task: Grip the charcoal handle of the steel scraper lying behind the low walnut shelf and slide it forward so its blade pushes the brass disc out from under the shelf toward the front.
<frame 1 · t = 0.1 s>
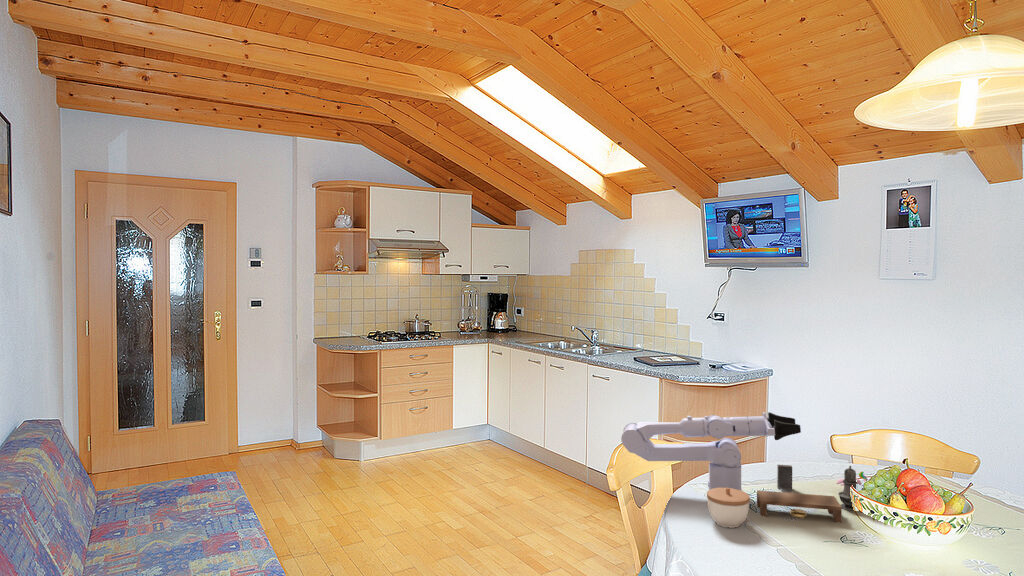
hand: (797, 425, 180), 22 cm above the table, tool horizontal, fingers open, 7 cm apart
brass token: (798, 516, 169), on the table
low shelf: (797, 513, 170), on the table
lidded jar: (728, 523, 164), on the table
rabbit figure: (857, 491, 188), on the table
scraper tool: (784, 488, 190), on the table
salt shaker: (849, 508, 174), on the table
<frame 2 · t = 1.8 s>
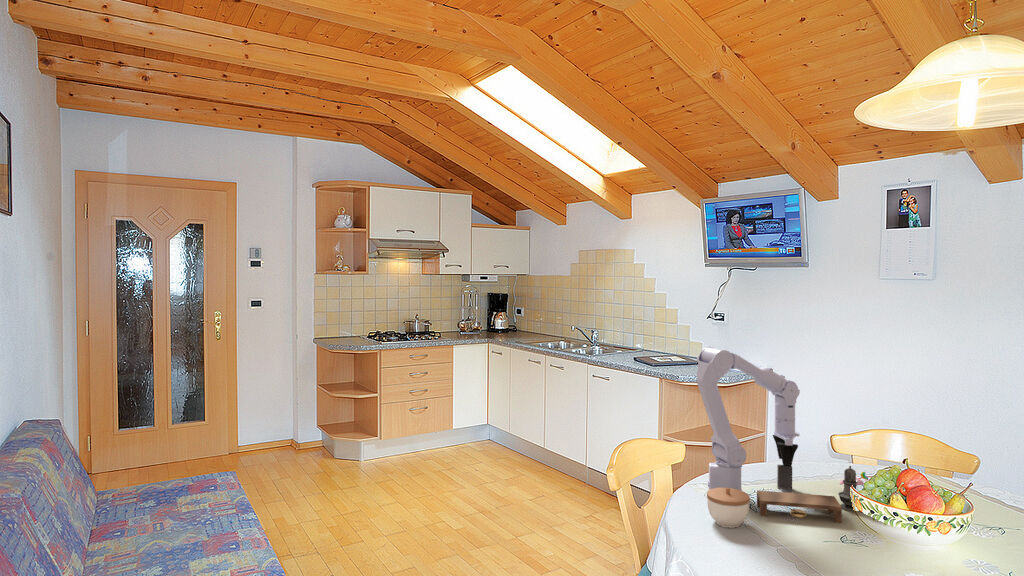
hand: (784, 462, 189), 8 cm above the table, tool pointing down, fingers open, 7 cm apart
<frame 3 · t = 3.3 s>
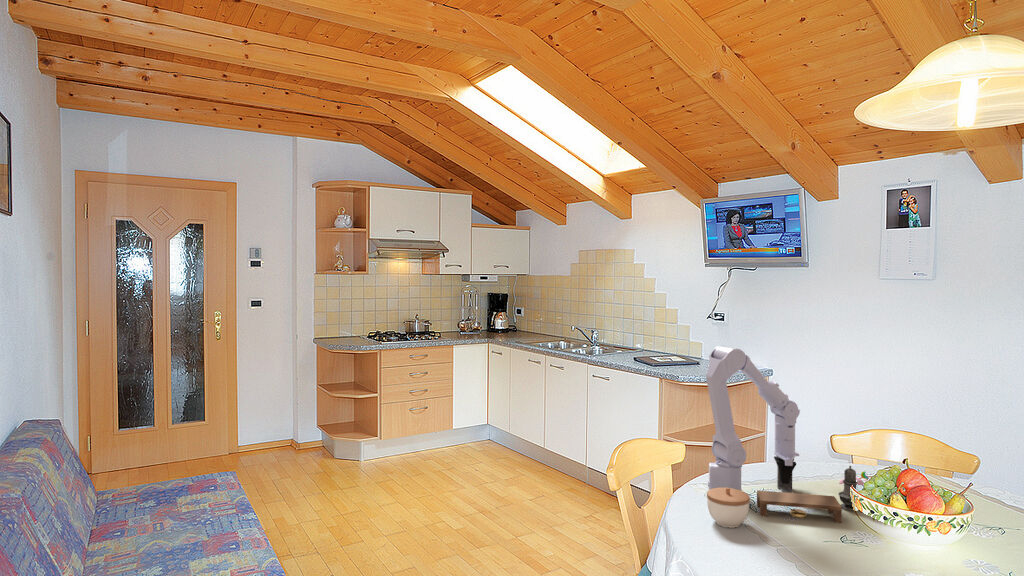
hand: (784, 482, 189), 2 cm above the table, tool pointing down, fingers closed on scraper tool
scraper tool: (784, 488, 190), on the table, touching gripper
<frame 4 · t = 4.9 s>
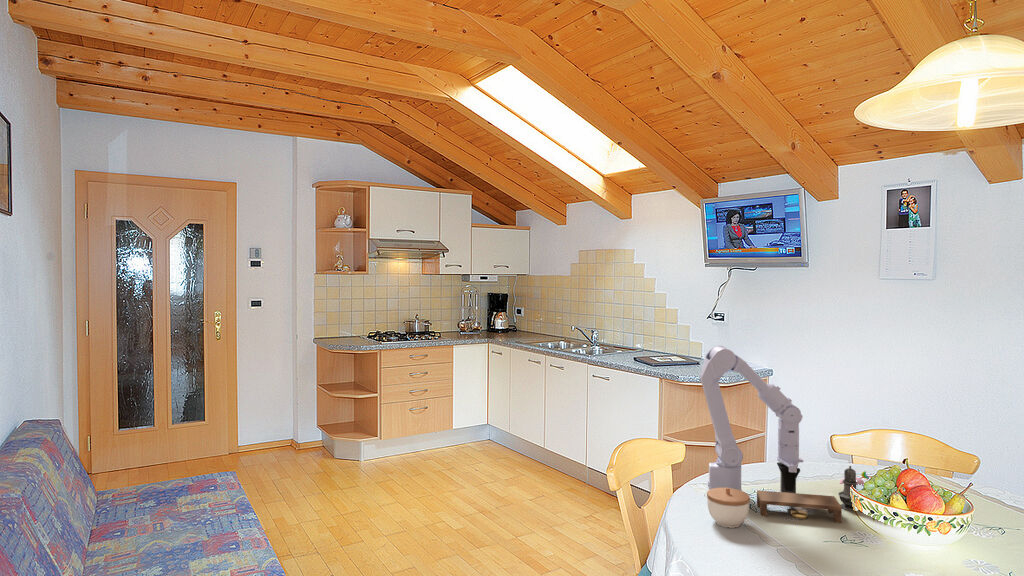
hand: (788, 489, 184), 2 cm above the table, tool pointing down, fingers closed on scraper tool
scraper tool: (788, 495, 184), on the table, touching gripper
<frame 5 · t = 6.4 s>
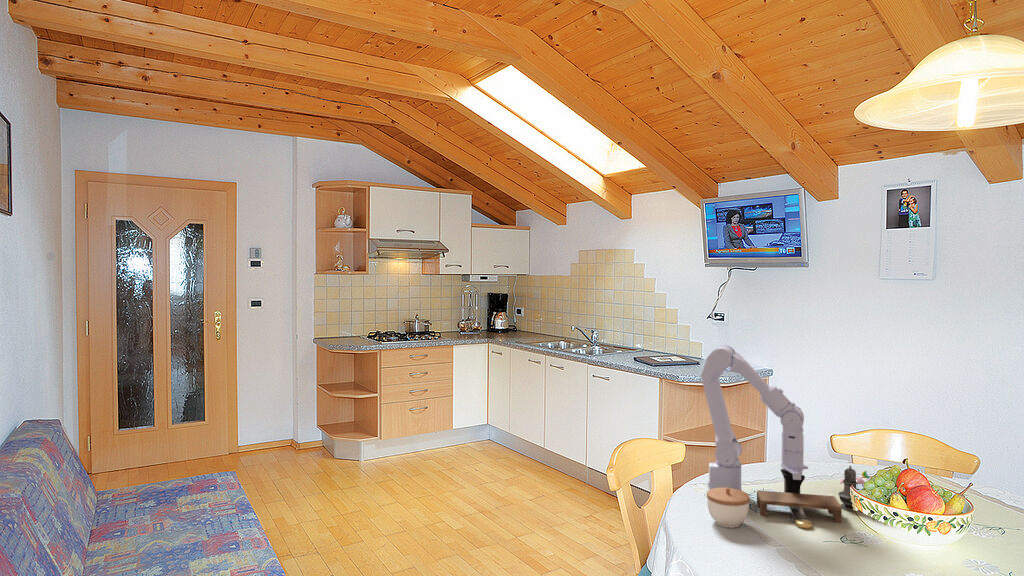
hand: (792, 496, 177), 2 cm above the table, tool pointing down, fingers closed on scraper tool
brass token: (803, 526, 162), on the table, touching scraper tool
scraper tool: (792, 503, 177), on the table, touching brass token, gripper
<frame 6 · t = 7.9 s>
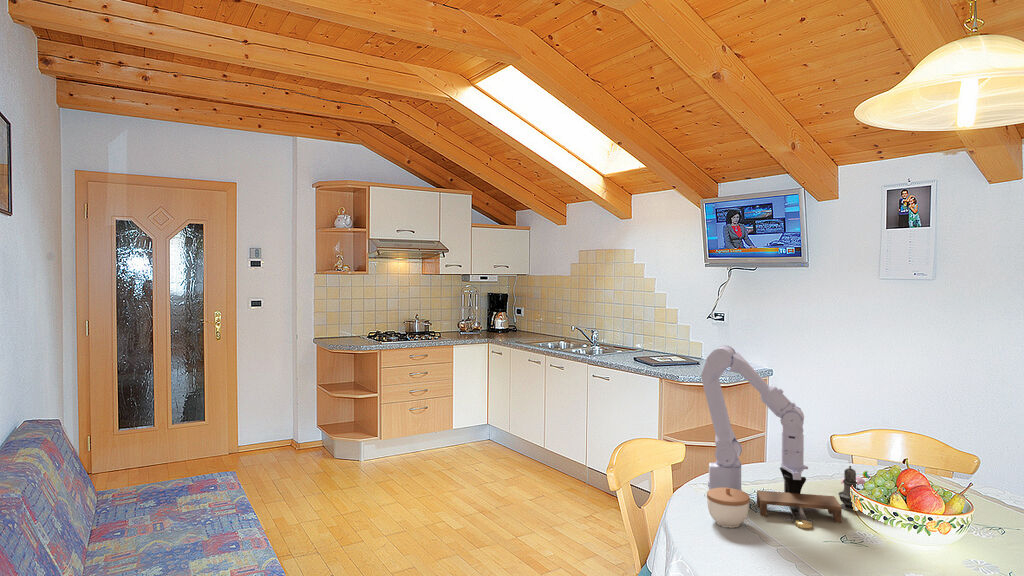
hand: (792, 496, 177), 2 cm above the table, tool pointing down, fingers open, 5 cm apart
brass token: (803, 527, 162), on the table
scraper tool: (792, 503, 177), on the table
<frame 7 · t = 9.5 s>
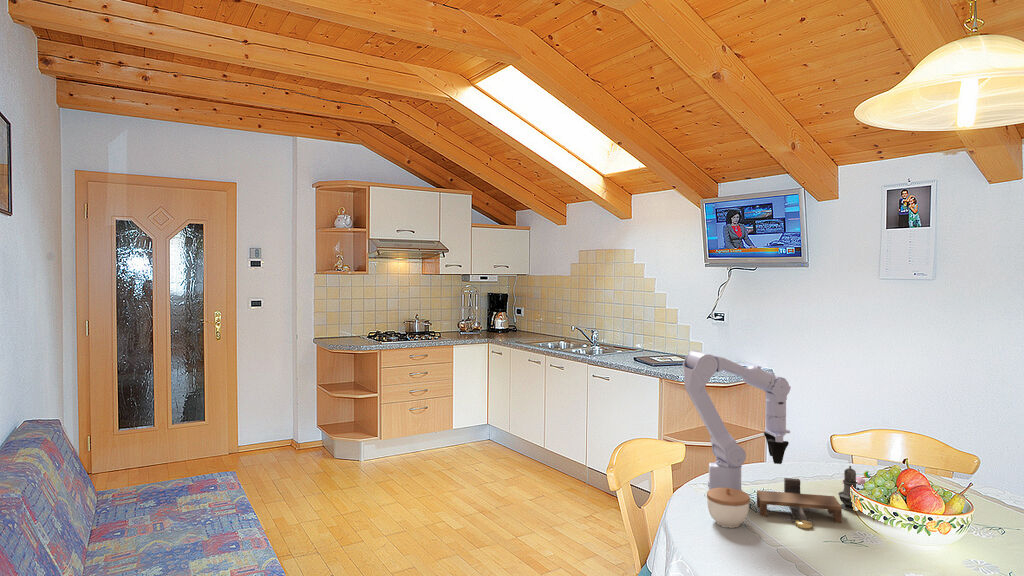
hand: (775, 459, 188), 9 cm above the table, tool pointing down, fingers open, 7 cm apart
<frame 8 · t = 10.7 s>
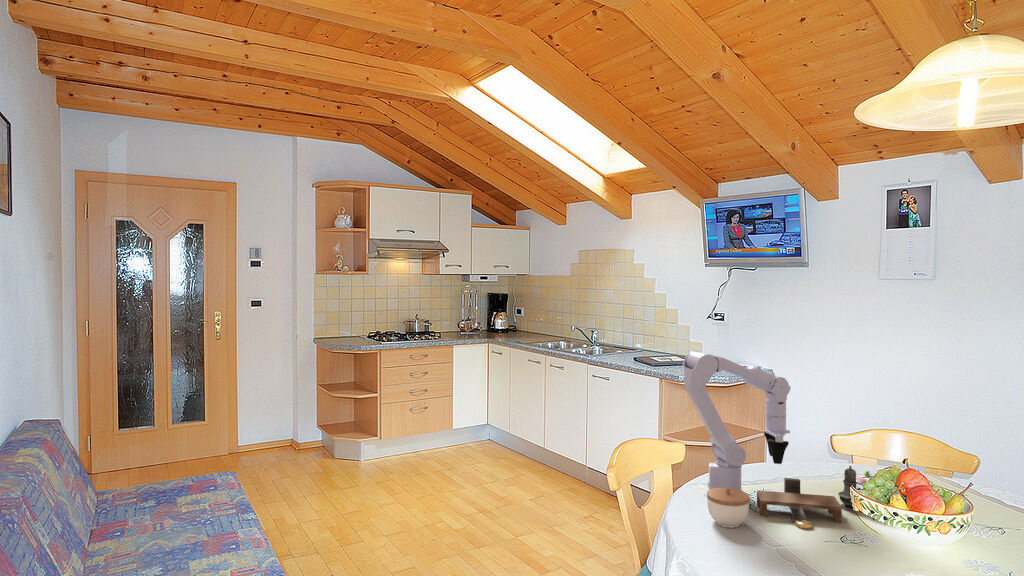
hand: (775, 459, 188), 9 cm above the table, tool pointing down, fingers open, 7 cm apart
at the end: brass token inside the target area (3.6 cm from its centre), on the table; scraper tool moved 12.7 cm from its start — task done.
